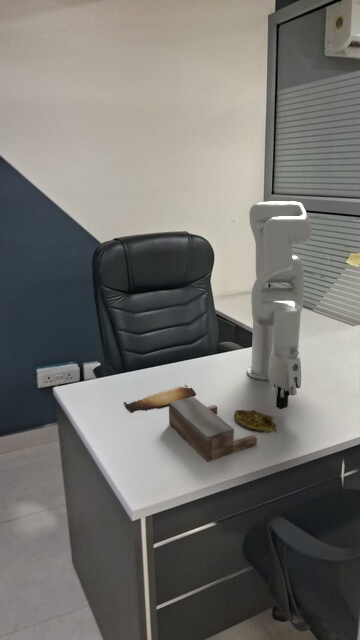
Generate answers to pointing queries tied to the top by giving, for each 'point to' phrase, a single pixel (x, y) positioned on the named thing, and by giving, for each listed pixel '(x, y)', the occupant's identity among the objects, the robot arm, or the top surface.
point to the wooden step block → (205, 429)
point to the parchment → (160, 399)
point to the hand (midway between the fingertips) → (281, 407)
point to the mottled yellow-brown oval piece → (255, 421)
